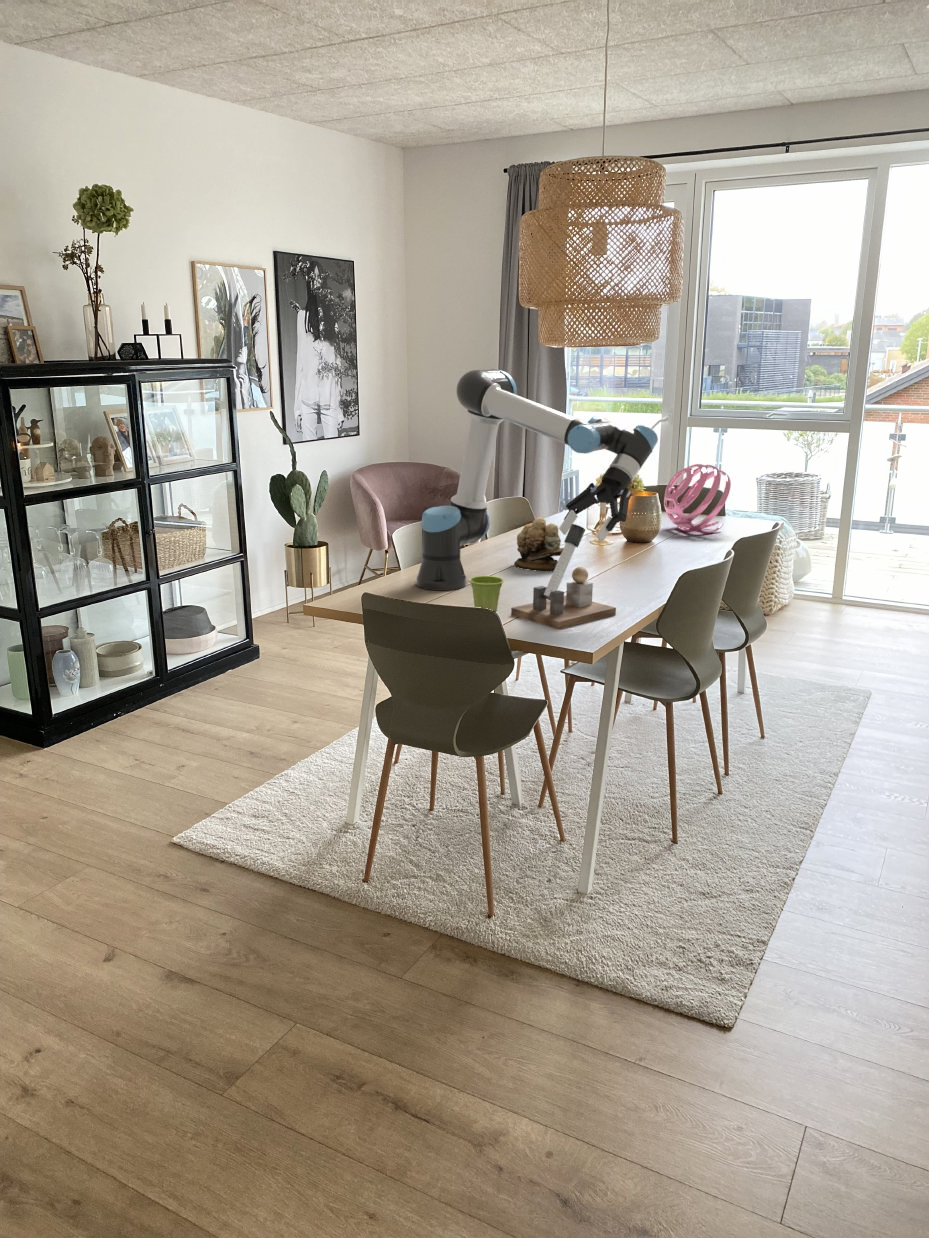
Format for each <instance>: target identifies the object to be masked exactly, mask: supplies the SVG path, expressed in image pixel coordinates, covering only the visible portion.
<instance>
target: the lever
mask: <svg viewBox="0 0 929 1238" xmlns="http://www.w3.org/2000/svg"><path fill="white" fill-rule="evenodd" d="M585 531H586V528H584V527H582V526H580V525H579V524H575V523H573V524H572V525H571V527H570V529H569V530H568V532H567V533H566V536H565V538H564V541H563V543H565V544H564V547H563V548H564V549H563V551H562V553H561V555H560V556H559V559H557V561H558V563H557V565H556V567H555V569H554V571H552V575H551V577H550V579H549V581H548V584H547V586H546V587H547V588H546V590H545V593H543V594H542V598H544V599H546V600H550V593H551V592H553V591H558V589H559V587H560V585H561V582H562V580H563V578H564V575H565V574H566V570H567V568H568V566H569V564H570V562H571V559H572V556H573V554H574V552H575V551H576V548H579V547H580V543H581V542H582V540H583V537H584V534H585Z"/></svg>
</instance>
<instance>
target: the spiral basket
mask: <svg viewBox="0 0 929 1238" xmlns="http://www.w3.org/2000/svg"><path fill="white" fill-rule="evenodd" d="M696 467H697V468H696ZM693 468H695V469H694V470H693ZM708 469H712V471H710V472H708ZM685 474H686V476H685V478H683V479H682V481H681V482H680V483H679V484H678V485H677V487H676V488H675V485H676V484H677V482H678V481H679V480H680V479H681V478H682V476H684V475H685ZM697 474H700V475H699V479H698V480H696V481H695V482H694V483H693V484H692V486H690V485H691V482H692V480H693V478H694V476H696V475H697ZM721 475H723V476H724V477H725V486H724V490H723V493H722V495H721V496H720V499H719V501H718V502H717V504H716V506H715V507H714V508H713V509H712V510H711V512H710V513H709V514H708V515H707V516H706V517H705V518H704V519H703V520H702V521H700V522H699V523H697V524H694V523H693V521H694V520H695V519H696V518H697V517H699V516H700V515H701V514H702V513H703V512H704V511H705V510H706V508H707V507H708V506H709V505H710V504H711V502H712V500H713V499H714V497H715V496H716V495H717V492H718V489H719V487H720V484H721V477H722V476H721ZM712 478H713V481H712V485H711V488H710V490H709V491H708V493H707V494H706V496H705V498H704V499H703V500H702V501H701V503H700V504H699V505H698V506H697V507H696V509H694V510H693V511H692V512H691V513H690V514H688V515H685V513H684V510H685V509H687V508H688V507H690V505H691V504H692V503H693V502H694V501H695V500H696V499H697V498H698V496H699V495H700V493H701V491H702V490H703V488H704V486H705V484H706V482H707V481H708V480H710V479H712ZM730 478H731V477H730V476H729V475H728V474H727V473H726V472H725V471H723V470H720V469H719V468H718V467H717V466H715V465H712V464H702V463H695V464H692V465H689V466H688V467H684V468H682V469H680V470H679V471H678V472H676V473H675V474H674V475H673V476H672V477H671V479H670V480H669V482H668V483H667V485H666V488H665V492H664V497H663V498H664V499H663V506H664V510H665V512H666V515H667V517H668V519H669V521H670V522H671V523H672V524H673V525H676V527H677V528H678V529H679V530H680V531H682V532H683V533H699V534H704V535H705V534H706V535H707V534H708V535H709V534H713V533H716V532H718V531H719V530H721V528H722V527H723V525H724V522H721V523H720V521H718V520H717V521H715V522H712V523H710V522H711V521H713V519H714V518H715V517H716V516H717V515H718V514H719V512H720V511H721V510H722V508H723V507H724V505H725V503H726V501H727V499H728V498H729V495H730V492H731V485H732V483H731V479H730ZM689 486H690V487H689ZM688 487H689V489H688ZM686 490H687V491H686ZM685 491H686V493H684V492H685ZM683 494H684V495H683ZM682 495H683V497H682V498H681V501H680V502H679V501H678V498H679V497H680V496H682ZM668 501H669V502H668ZM667 503H668V504H667ZM719 523H720V525H719V526H718V527H716V528H715V529H713V530H704V529H708V528H711V527H713V526H716V525H717V524H719Z"/></svg>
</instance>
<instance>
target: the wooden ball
mask: <svg viewBox="0 0 929 1238" xmlns="http://www.w3.org/2000/svg"><path fill="white" fill-rule="evenodd" d="M571 578H572V581H575V582H577V583H583V582H585V581H586V582H587V580H588V578H589V572H588V569H586V568H584V567H582V566H578V567H575V568H574V569H573V570H572V572H571Z"/></svg>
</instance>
